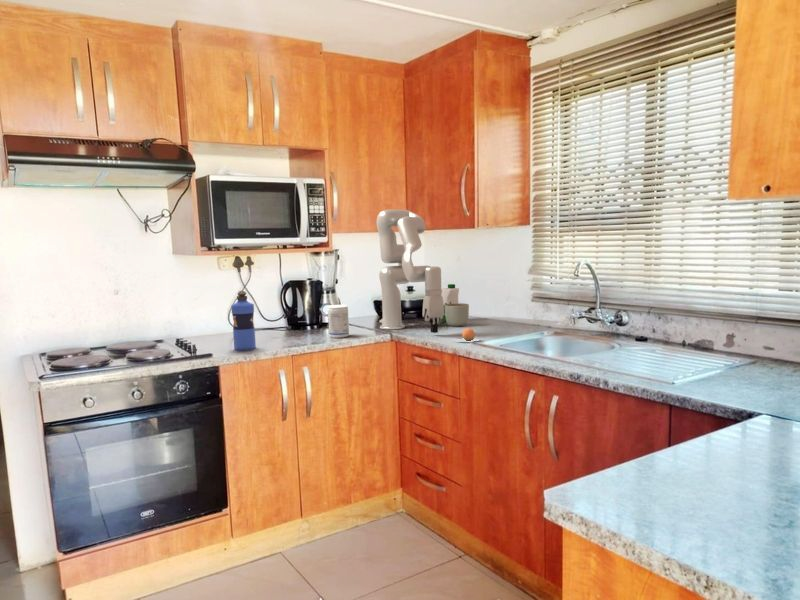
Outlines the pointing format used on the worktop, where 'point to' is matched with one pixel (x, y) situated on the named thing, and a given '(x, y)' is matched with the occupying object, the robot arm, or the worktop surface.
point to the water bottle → (243, 323)
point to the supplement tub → (338, 321)
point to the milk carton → (449, 296)
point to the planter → (456, 314)
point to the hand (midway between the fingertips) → (434, 332)
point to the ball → (468, 334)
